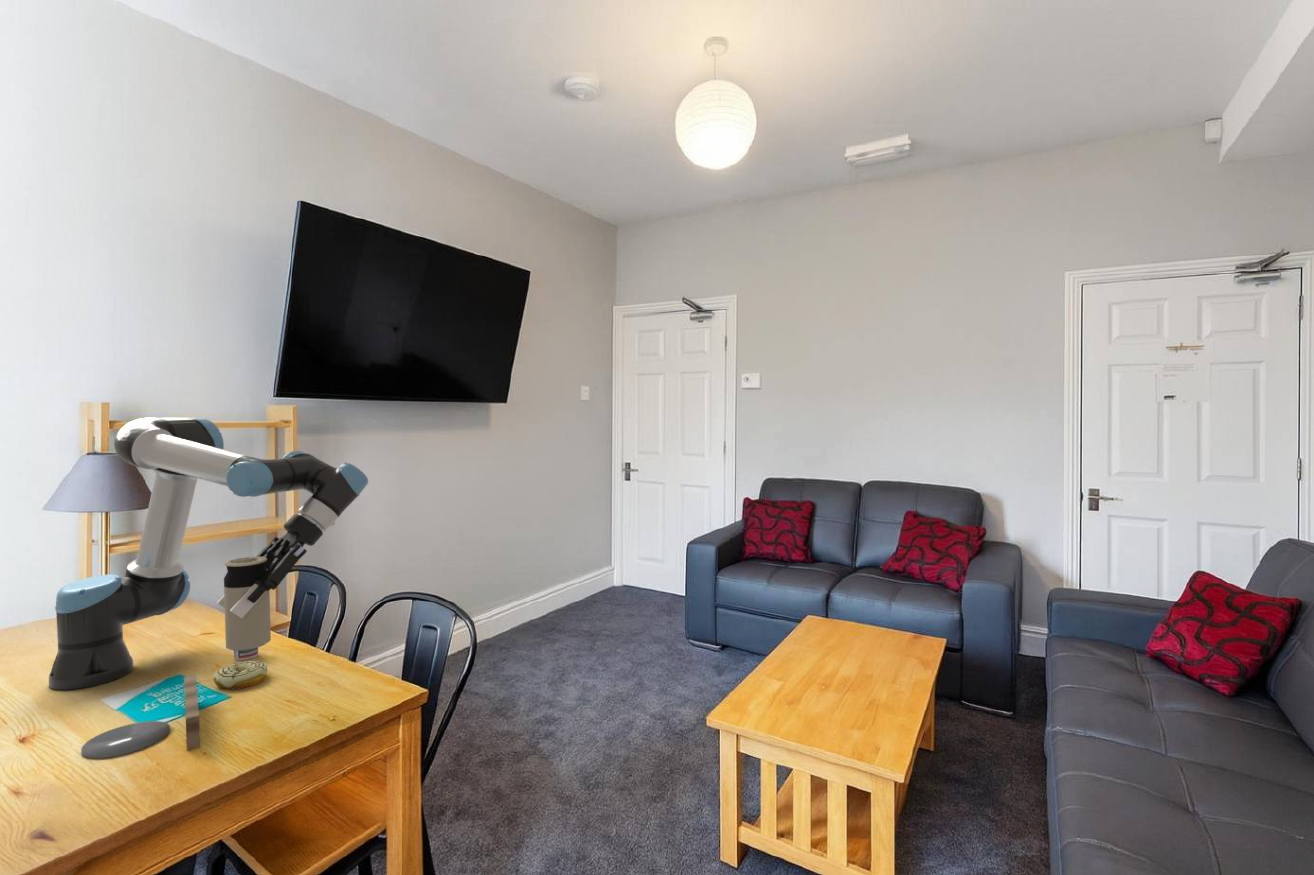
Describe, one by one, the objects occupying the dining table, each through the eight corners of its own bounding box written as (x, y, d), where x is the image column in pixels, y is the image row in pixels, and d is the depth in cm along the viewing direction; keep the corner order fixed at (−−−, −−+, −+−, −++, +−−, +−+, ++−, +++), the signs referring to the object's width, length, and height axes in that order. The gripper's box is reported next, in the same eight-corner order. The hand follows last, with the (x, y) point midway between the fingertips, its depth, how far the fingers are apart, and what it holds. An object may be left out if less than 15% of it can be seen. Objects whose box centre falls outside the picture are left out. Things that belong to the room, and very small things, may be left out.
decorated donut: (225, 696, 140) (225, 679, 140) (206, 685, 146) (205, 669, 146) (275, 680, 148) (275, 664, 148) (255, 669, 155) (254, 654, 154)
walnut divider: (200, 747, 118) (199, 715, 117) (186, 750, 116) (185, 718, 116) (196, 702, 137) (195, 675, 136) (185, 704, 135) (184, 677, 135)
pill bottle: (263, 654, 164) (262, 621, 164) (244, 662, 159) (243, 627, 159) (248, 652, 166) (247, 619, 166) (229, 659, 161) (228, 625, 161)
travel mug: (237, 654, 127) (234, 566, 126) (218, 647, 131) (216, 561, 130) (278, 642, 134) (275, 558, 133) (259, 635, 138) (256, 554, 137)
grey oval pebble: (61, 760, 113) (61, 757, 113) (118, 725, 126) (118, 722, 126) (136, 757, 114) (136, 753, 114) (185, 722, 127) (185, 719, 127)
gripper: (342, 538, 137) (261, 630, 125) (304, 527, 150) (228, 610, 138) (316, 517, 132) (229, 610, 121) (279, 508, 146) (198, 591, 134)
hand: (228, 610), depth 129 cm, fingers closed on travel mug, 8 cm apart
